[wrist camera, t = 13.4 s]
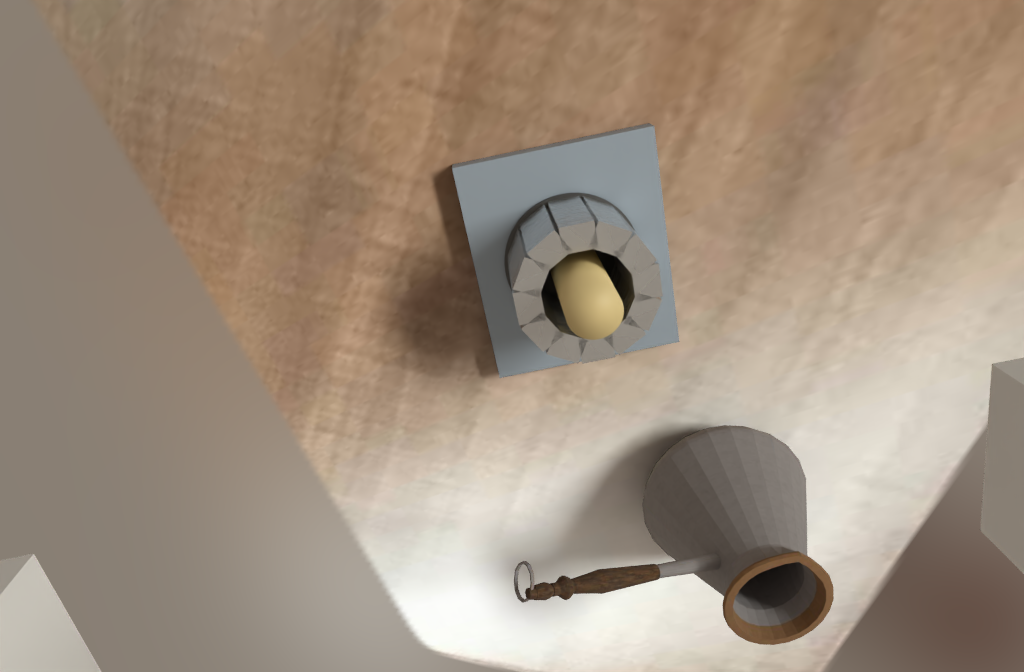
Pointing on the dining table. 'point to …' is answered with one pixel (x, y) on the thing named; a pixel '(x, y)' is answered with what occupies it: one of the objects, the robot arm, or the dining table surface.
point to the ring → (570, 232)
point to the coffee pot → (726, 534)
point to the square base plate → (579, 276)
